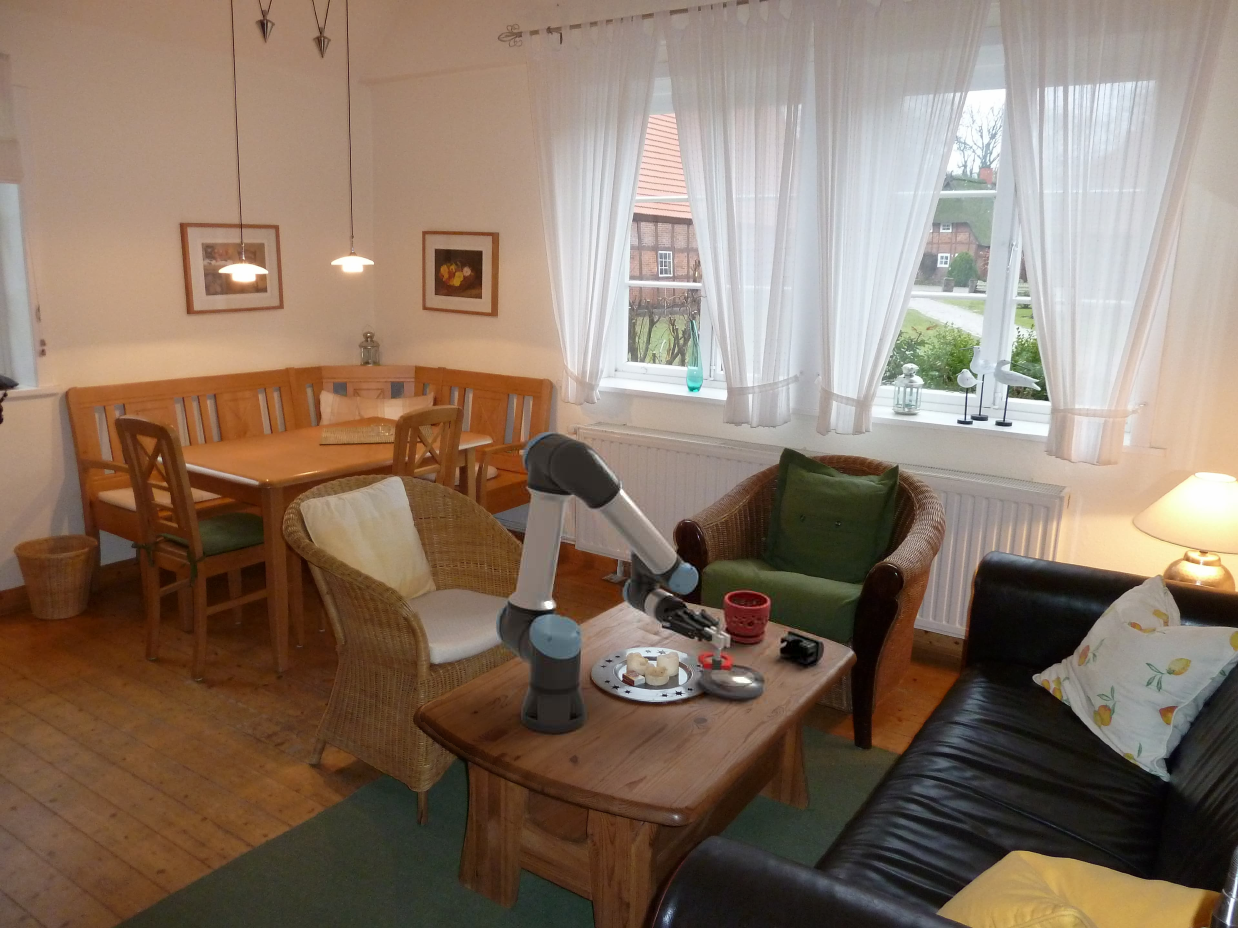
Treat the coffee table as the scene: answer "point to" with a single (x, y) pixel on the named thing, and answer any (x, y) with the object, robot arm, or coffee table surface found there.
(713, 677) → the rosette plate
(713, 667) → the tow hook
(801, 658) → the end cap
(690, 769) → the coffee table surface
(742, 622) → the plant pot
